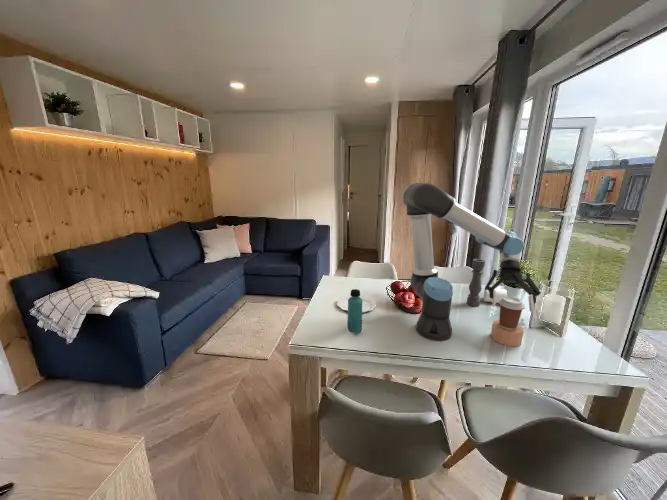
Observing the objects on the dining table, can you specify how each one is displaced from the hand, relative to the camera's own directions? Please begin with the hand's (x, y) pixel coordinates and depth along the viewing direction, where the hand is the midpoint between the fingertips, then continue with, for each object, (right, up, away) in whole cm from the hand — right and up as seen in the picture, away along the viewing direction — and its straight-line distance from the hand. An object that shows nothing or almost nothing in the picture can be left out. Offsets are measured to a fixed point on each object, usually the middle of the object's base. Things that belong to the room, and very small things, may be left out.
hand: (512, 308), depth 115 cm
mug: (+16, -5, +42) cm, 45 cm away
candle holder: (+2, -6, +37) cm, 37 cm away
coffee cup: (-1, -8, +2) cm, 9 cm away
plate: (-62, -6, +34) cm, 71 cm away
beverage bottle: (-65, -13, +8) cm, 67 cm away
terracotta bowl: (-1, -14, +4) cm, 14 cm away
